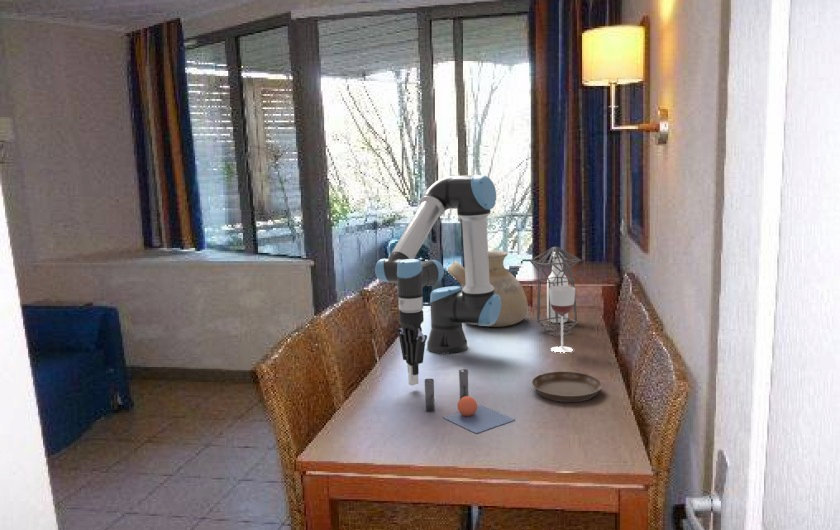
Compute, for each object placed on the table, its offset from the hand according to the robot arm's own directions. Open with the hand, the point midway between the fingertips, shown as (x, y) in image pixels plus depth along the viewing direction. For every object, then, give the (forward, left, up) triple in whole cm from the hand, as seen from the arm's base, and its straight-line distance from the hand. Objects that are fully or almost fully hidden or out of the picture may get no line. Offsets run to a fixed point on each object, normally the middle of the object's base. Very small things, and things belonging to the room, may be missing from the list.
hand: (413, 383), depth 208 cm
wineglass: (+1, +66, -2) cm, 66 cm away
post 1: (+17, -6, -2) cm, 18 cm away
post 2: (+17, +6, -2) cm, 18 cm away
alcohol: (-29, +96, -2) cm, 100 cm away
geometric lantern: (-17, +82, -2) cm, 84 cm away
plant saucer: (+32, +34, -3) cm, 47 cm away
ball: (+27, -1, +1) cm, 27 cm away
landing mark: (+31, 0, -2) cm, 31 cm away
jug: (-48, +74, -2) cm, 88 cm away
